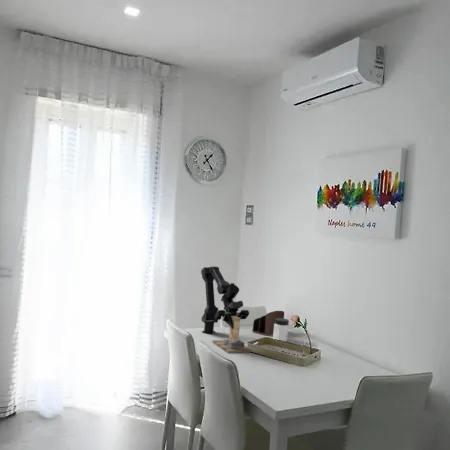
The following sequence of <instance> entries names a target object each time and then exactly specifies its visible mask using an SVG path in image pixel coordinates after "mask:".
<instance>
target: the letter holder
mask: <svg viewBox="0 0 450 450" xmlns="http://www.w3.org/2000/svg"><path fill="white" fill-rule="evenodd" d="M276 318H284V319H285V311H284V310H273V311H270V312H267V313H266V314H265V315H262V316H260V317H258V318H255V319H254V320H253V324H252V333H254V334H257V335H261V336H264V337H265V336H270V335H273V332H274V324H275V319H276Z"/></svg>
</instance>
